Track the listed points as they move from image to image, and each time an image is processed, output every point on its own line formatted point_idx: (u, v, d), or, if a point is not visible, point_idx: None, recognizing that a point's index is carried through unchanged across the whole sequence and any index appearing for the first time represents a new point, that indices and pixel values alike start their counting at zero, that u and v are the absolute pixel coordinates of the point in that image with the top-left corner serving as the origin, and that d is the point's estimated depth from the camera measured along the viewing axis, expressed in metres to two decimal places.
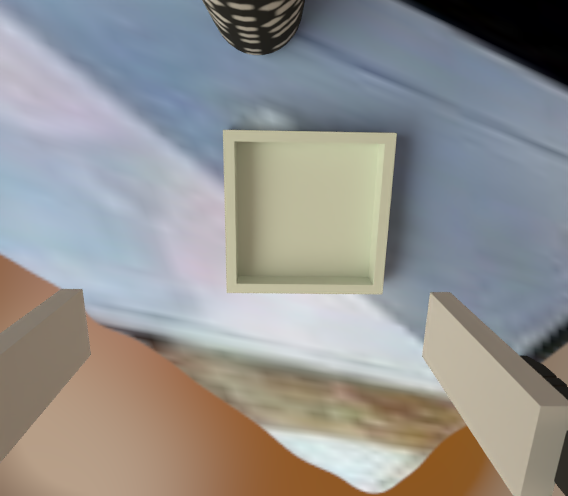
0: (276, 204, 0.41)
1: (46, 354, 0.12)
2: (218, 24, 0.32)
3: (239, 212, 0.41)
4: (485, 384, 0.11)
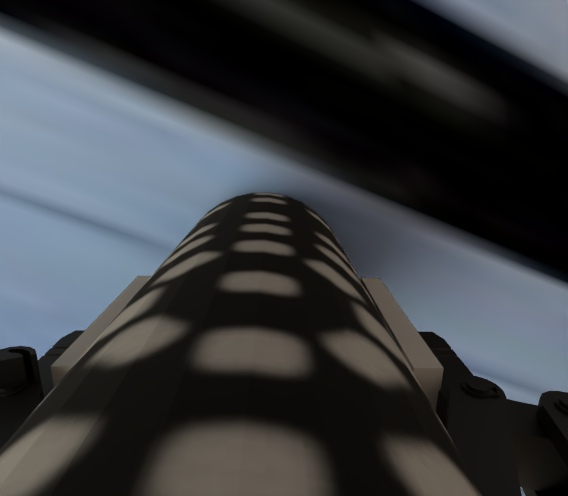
0: None
1: None
2: None
3: None
4: None
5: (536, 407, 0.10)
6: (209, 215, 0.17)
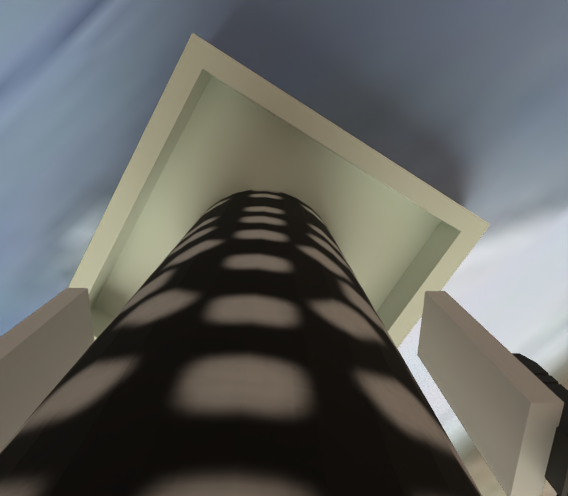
0: None
1: (53, 352, 0.13)
2: None
3: None
4: (478, 381, 0.11)
5: None
6: (210, 210, 0.19)
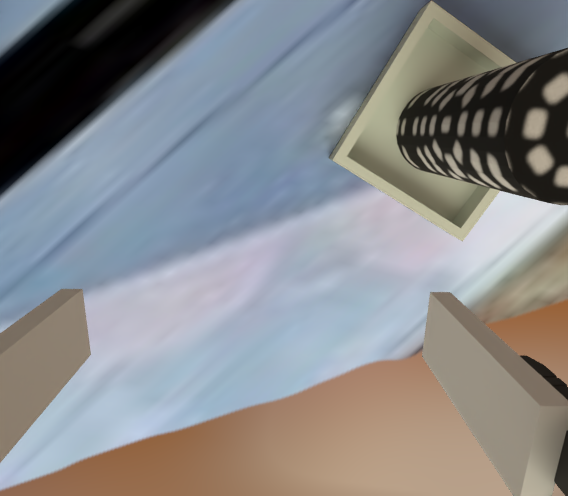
0: None
1: (46, 354, 0.12)
2: (428, 165, 0.36)
3: (399, 189, 0.42)
4: (485, 384, 0.11)
5: None
6: (427, 91, 0.37)
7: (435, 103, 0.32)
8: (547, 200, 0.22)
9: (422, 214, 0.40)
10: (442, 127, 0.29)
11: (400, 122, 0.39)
